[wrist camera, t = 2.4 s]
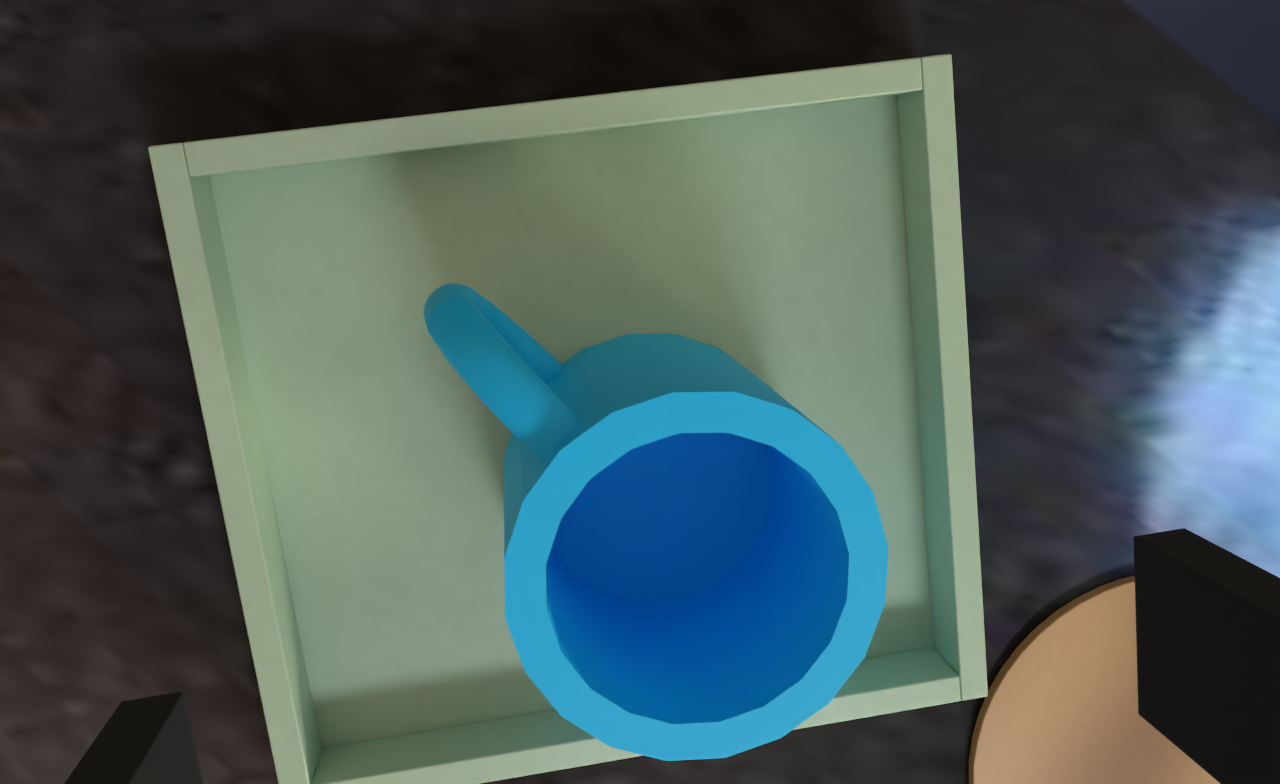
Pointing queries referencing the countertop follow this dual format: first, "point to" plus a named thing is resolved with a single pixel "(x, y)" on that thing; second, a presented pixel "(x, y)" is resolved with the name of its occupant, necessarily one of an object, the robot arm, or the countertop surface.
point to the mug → (669, 536)
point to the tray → (564, 325)
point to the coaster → (1076, 705)
